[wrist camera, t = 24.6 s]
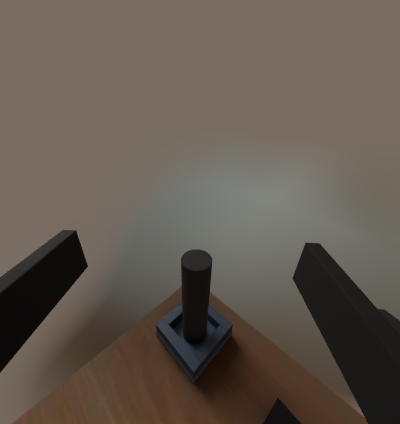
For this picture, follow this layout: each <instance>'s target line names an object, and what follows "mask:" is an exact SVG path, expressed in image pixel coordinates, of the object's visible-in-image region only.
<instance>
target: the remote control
mask: <svg viewBox="0 0 400 424" xmlns="http://www.w3.org/2000/svg"><path fill="white" fill-rule="evenodd" d="M263 424H301V423H300V422H299V421H298V420H297V419H296V417H295V416H294V415H293V414H292V413H291V412H290V411H289V410H288V409H287V407H286V406H285V405H284V404H283V403H282V402H281V401H280V400H279V399H278V398H277V400H276V402H275V404H274V406H273V407H272V409H271V411H270V413H269V414H268V416H267V418H266V420H265V421H264V423H263Z"/></svg>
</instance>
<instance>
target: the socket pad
mask: <svg viewBox="0 0 400 424" xmlns="http://www.w3.org/2000/svg"><path fill="white" fill-rule="evenodd" d="M232 326H233V325H232V324H231V323H230V322H229V321H228V320H227V319H225V318H224V317H223V316H222V315H221V314H220V313H219V312H217V311H216V310H215V309H214V308H213V307H212V306H211V305H209V306H208V319H207V331H206V337H205V339H204V340H203V341H202V342H201V343H199V344H196V345H193V344H190V343H188V342H187V341H186V340H185V339H184V337H183V320H182V303H181V304H180V305H179V306H177V307H176V308H175V309H174V310H173V311H171V312H170V313H169V314H168V315H167V316H165V317H164V318H163V319H162V320H161V321H159V322H158V323H157V324H156V329H157V331H156V335H157V336H158V338H159V339H160V340H161V341H162V343H163V344H164V345H165V347H166V348H167V349H168V351H169V352H170V353H171V355H172V356H173V357H174V359H175V360H176V361H177V363H178V364H179V365H180V367H181V368H182V369H183V370H184V372H185V373H186V374H187V376H188V377H189V378H190V380H191V381H192V382H193V383H194V382H195V381H196V380H197V379H198V377H199V376H200V375H201V374H202V372H203V371H204V370H205V368H206V367H207V366H208V365H209V363H210V362H211V361H212V359H213V358H214V357H215V356H216V354H217V353H218V352H219V350H220V349H221V348H222V347H223V345H224V344H225V343H226V342H227V340H228V339H229V338H230V336H231V335H232Z"/></svg>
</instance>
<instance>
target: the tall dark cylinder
mask: <svg viewBox="0 0 400 424" xmlns="http://www.w3.org/2000/svg"><path fill="white" fill-rule="evenodd" d="M211 269H212V257H211V256H210V255H209V254H208V253H207V252H205V251H203V250H190V251H188V252H186V253H185V254H184V255H183V256H182V259H181V271H182V272H181V273H182V320H183V337H184V339H185V340H186V341H187V342H188V343H190V344H193V345H196V344H199V343H201V342H202V341H203V340H204V339H205V337H206V331H207V319H208V306H209V294H210V281H211Z"/></svg>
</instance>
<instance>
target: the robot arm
mask: <svg viewBox="0 0 400 424" xmlns="http://www.w3.org/2000/svg"><path fill="white" fill-rule="evenodd" d="M87 267H88V265H87V262H86V259H85V256H84V253H83V250H82V247H81V244H80V242H79V238H78V235H77V232H76V231H74V230H62V231H61V232H60V233H58V234H57V235H56V236H54V237H53V238H52V239H50V240H49V241H48V242H47V243H45V244H44V245H42V246H41V247H40V248H38V249H37V250H36V251H35V252H33V253H32V254H31V255H29V256H28V257H27V258H25V259H24V260H23V261H21V262H20V263H19V264H17V265H16V266H15V267H13V268H12V269H11V270H9V271H8V272H7V273H6V274H4V275H3V276H1V277H0V372H1V371H2V370H3V368H4V367H5V366H6V365H7V364H8V362H9V361H10V360H11V359H12V358H13V356H14V355H15V354H16V353H17V351H18V350H19V349H20V348H21V347H22V345H23V344H24V343H25V342H26V340H27V339H28V338H29V337H30V336H31V335H32V333H33V332H34V331H35V330H36V329H37V327H38V326H39V325H40V324H41V323H42V321H43V320H44V319H45V318H46V316H47V315H48V314H49V313H50V312H51V310H52V309H53V308H54V307H55V306H56V304H57V303H58V302H59V301H60V299H61V298H62V297H63V296H64V295H65V293H66V292H67V291H68V290H69V289H70V287H71V286H72V285H73V284H74V283H75V281H76V280H77V279H78V278H79V277H80V275H81V274H82V273H83V272H84V270H85V269H86V268H87ZM293 280H294V282H295V284H296V285H297V288H298V290H299V292H300V293H301V295H302V297H303V299H304V301H305V303H306V305H307V307H308V309H309V311H310V313H311V315H312V317H313V318H314V320H315V322H316V324H317V326H318V328H319V330H320V332H321V334H322V336H323V337H324V339H325V342H326V343H327V345H328V347H329V349H330V351H331V353H332V355H333V357H334V359H335V360H336V363H337V365H338V366H339V368H340V370H341V372H342V374H343V376H344V378H345V380H346V382H347V384H348V385H349V388H350V390H351V391H352V393H353V395H354V397H355V399H356V400H357V403H358V405H359V407H360V408H361V411H362V413H363V415H364V416H365V418H366V420H367V422H368V424H400V321H399V320H398V319H396V318H395V317H394V316H392V315H391V314H390V313H388V312H387V311H385V310H382V309H377V308H376V307H375V306H374V305H373V304H372V302H371V301H370V300H369V299H368V298H367V297H366V296H365V294H364V293H363V292H362V291H361V290H360V289H359V288H358V287H357V285H356V284H355V283H354V282H353V281H352V280H351V279H350V277H349V276H348V275H347V274H346V273H345V272H344V271H343V270H342V268H341V267H340V266H339V265H338V264H337V263H336V262H335V260H334V259H333V258H332V257H331V256H330V255H329V254H328V253H327V252H326V251H325V249H324V248H323V247H322V246H321V245H320V244H319V243H305V246H304V249H303V251H302V254H301V257H300V260H299V262H298V265H297V268H296V270H295V274H294V276H293Z"/></svg>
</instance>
